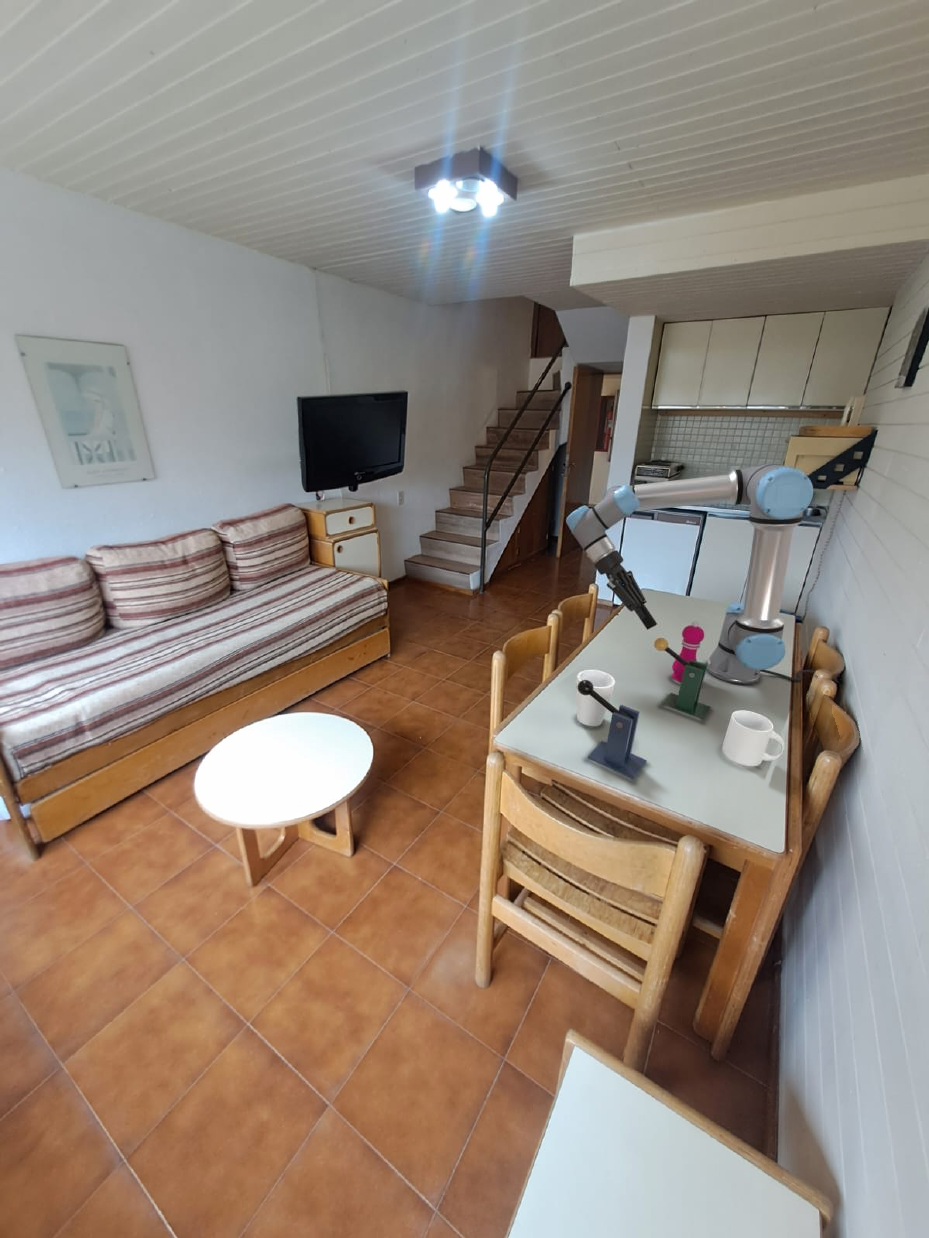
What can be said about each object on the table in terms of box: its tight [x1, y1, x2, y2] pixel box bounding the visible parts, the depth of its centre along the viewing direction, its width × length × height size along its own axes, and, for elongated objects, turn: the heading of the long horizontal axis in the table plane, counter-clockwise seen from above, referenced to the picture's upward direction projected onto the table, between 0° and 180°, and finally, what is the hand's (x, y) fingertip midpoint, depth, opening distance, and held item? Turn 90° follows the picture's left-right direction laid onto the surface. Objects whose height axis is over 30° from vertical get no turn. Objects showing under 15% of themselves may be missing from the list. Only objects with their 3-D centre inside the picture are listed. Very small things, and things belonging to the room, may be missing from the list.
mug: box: [721, 709, 786, 767], centre depth 115 cm, size 9×12×11 cm
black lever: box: [578, 680, 634, 720], centre depth 112 cm, size 14×4×4 cm, turn 51°
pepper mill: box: [671, 620, 705, 683], centre depth 148 cm, size 7×7×20 cm
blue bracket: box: [587, 704, 647, 780], centre depth 112 cm, size 11×8×14 cm
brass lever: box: [653, 637, 702, 670], centre depth 134 cm, size 14×4×4 cm, turn 51°
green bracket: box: [661, 660, 712, 720], centre depth 134 cm, size 11×8×14 cm
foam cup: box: [575, 669, 616, 727], centre depth 127 cm, size 10×9×13 cm
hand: (652, 626), depth 136 cm, fingers closed
